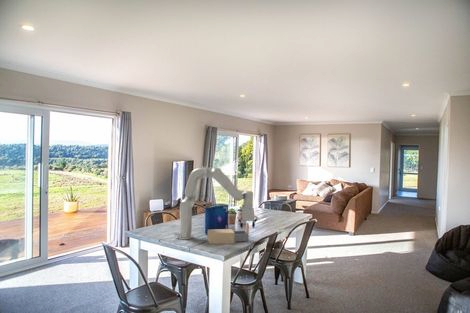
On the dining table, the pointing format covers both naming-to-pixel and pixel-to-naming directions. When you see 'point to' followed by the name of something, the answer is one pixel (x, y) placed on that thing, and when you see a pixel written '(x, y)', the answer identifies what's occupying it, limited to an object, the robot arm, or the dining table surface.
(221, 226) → the book
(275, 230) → the dining table surface
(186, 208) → the robot arm
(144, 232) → the dining table surface
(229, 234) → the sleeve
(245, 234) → the grey stepped block
